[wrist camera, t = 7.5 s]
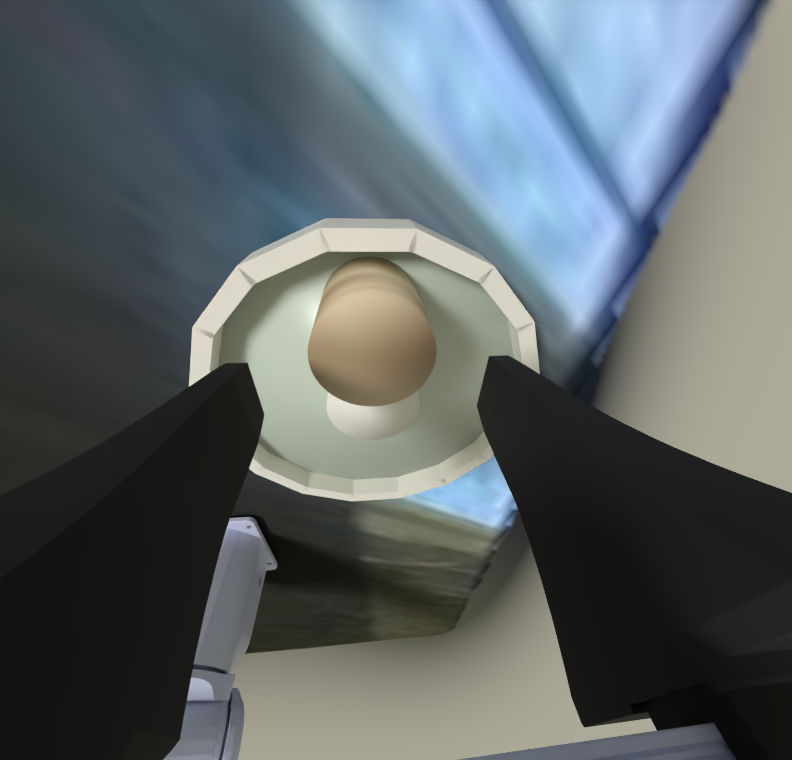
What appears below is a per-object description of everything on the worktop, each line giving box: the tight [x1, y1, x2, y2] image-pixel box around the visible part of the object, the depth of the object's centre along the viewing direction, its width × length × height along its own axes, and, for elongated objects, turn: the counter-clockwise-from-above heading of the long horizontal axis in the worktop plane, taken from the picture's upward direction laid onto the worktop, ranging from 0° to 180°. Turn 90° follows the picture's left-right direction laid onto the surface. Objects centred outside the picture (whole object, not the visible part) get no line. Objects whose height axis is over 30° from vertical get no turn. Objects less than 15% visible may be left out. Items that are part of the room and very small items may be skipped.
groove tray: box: [189, 218, 540, 501], centre depth 17 cm, size 18×18×2 cm
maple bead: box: [308, 256, 437, 406], centre depth 12 cm, size 4×4×4 cm
